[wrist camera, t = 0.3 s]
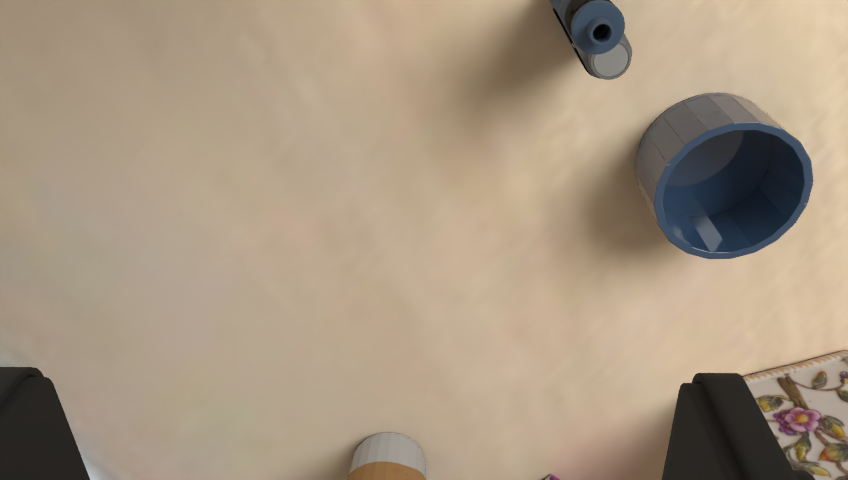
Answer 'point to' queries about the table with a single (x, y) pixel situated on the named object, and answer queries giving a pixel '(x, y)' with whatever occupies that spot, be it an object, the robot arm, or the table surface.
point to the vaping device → (596, 35)
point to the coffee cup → (388, 459)
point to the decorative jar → (808, 412)
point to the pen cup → (722, 176)
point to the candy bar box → (550, 478)
